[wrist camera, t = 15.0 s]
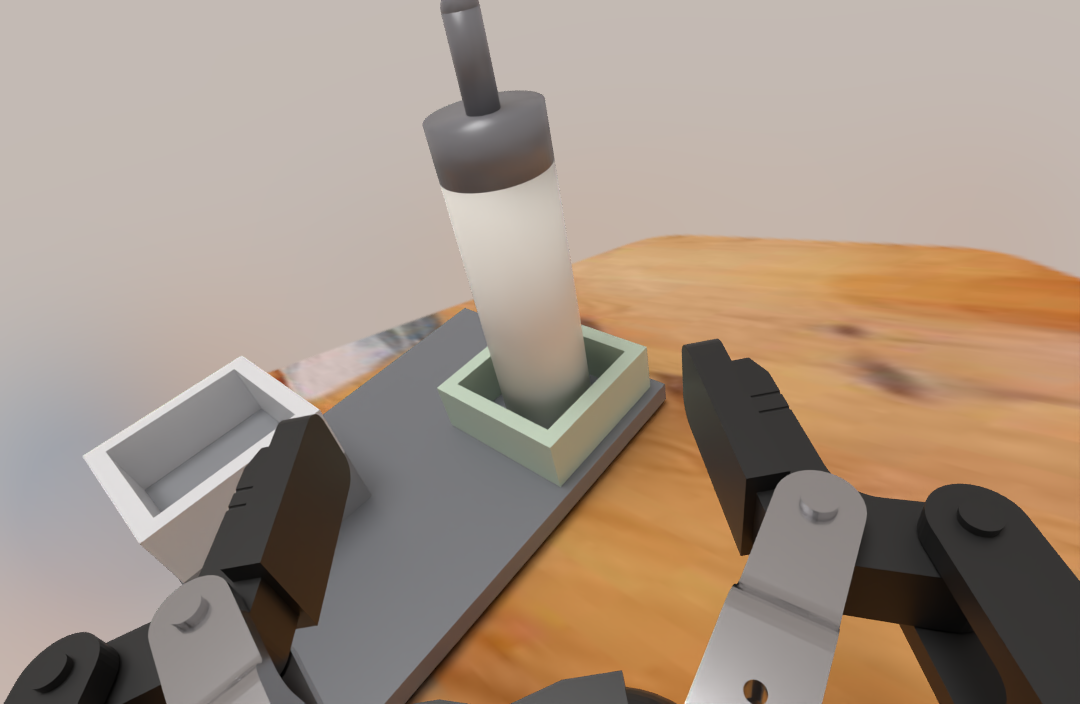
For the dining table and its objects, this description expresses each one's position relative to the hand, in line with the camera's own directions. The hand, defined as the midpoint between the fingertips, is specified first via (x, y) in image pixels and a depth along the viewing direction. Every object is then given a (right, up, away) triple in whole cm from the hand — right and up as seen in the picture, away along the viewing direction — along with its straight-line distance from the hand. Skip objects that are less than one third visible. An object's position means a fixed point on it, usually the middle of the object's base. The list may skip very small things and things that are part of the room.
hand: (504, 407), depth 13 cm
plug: (+1, -1, +15) cm, 15 cm away
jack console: (-5, -5, +15) cm, 16 cm away
